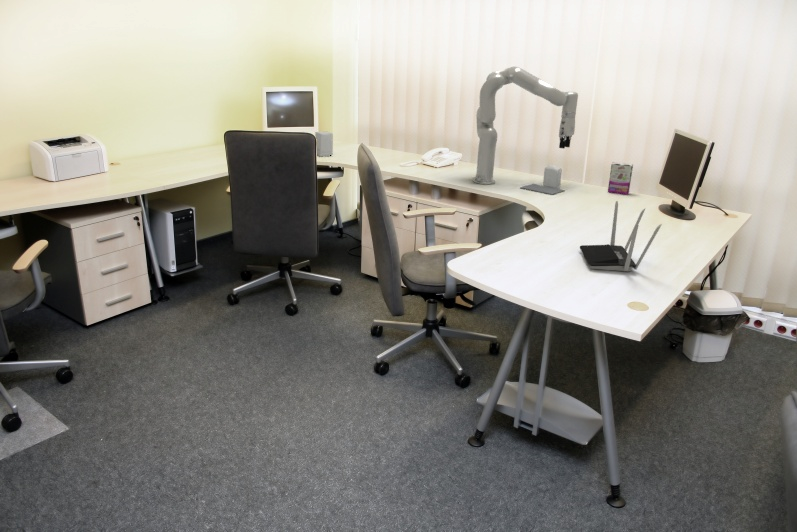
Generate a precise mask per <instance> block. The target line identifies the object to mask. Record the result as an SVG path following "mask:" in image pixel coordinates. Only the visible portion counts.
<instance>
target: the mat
mask: <svg viewBox="0 0 797 532" xmlns="http://www.w3.org/2000/svg"><path fill="white" fill-rule="evenodd" d="M519 189H521V190H525V189H526V191H530V190H531V192H534V193H535V192H536V193H540V194H546V195H550V196H554V195H557V194H561V193H564V192H565V191H566V190H565V189H561V188H559V189H557V188H552V187H547V186H543V184H542V185H541V184H536V183H531V184H528V185H524V186H520V187H519Z"/></svg>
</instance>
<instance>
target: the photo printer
mask: <svg viewBox="0 0 797 532" xmlns="http://www.w3.org/2000/svg"><path fill="white" fill-rule="evenodd" d="M562 173H563V170H562V168H561V167H559V166H557V165H554V164H549V165H545V167H544V172H543V180H542V181H543V182H542V186H547V187H552V188H557V189H561V180H562Z"/></svg>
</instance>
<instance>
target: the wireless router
mask: <svg viewBox="0 0 797 532" xmlns="http://www.w3.org/2000/svg"><path fill="white" fill-rule="evenodd" d="M618 208H619V202H618V200H616V201H615V203H614V211H613V219H612V220H613V221H612V228H611V236H610V243H609V244H593V245H592V244H589V245H588V244H587V245H586V244H585V245H580V246H579V249H580V251H581V253H582V254H583V257H584V259H585V261H586V262H587V264H588V266H589V267H590V269H592V270H604V271H605V270H606V271H619V272H620V271H621V272H631V270H632V269H634V270H635V271H637V269H638V268H639V266H640V265H641V262H642V260H643V259H644V257H645V255H647V252H648V250H649V249H650V246H651V245H652V243H653V241H654V239H655V238H656V236H657V234H658V232H659V230H660V229H661V226H662V225H663V223H660V224H659V225H658V226H657V227H656V228H655V230H654V231H653V233H652V235H651V237H650V239H649V240H648V242H647V244H646V246H645V247H644V249H643V251H642V253H641V254H640V257H638V260H637V261H636V262H635V261H634V260H633V258H632V256H633V252H634V247H635V243H636V238H637V234H638V229H639V227H640V226H639V224H640V222H641V219H642V217H643V215H644V214H645V211H646V209H647V208H643V209H642V210H641V211H640V213H639V216H638V218H637V220H636V221H635V222H636V223H635V225H634V227H633V229H632V231H631V234H630V235H629V237H628V239H627V241H626V244H625V246H622V245H616V244H615V243H616V232H617V220H618V213H619V211H618V210H619V209H618ZM627 251H628V252H627Z"/></svg>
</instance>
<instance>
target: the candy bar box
mask: <svg viewBox="0 0 797 532" xmlns="http://www.w3.org/2000/svg"><path fill="white" fill-rule="evenodd" d="M633 168H634V164H633V163H626V162H625V163H624V162H615V161H613V162H612V163H611V166H610V174H609V181H608V186H607V193H608V192H609V193H610V194H617V195H618V194H619V195H627V196H628V195H629V193H630V189H631V181H632V175H633V174H632V173H633Z"/></svg>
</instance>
